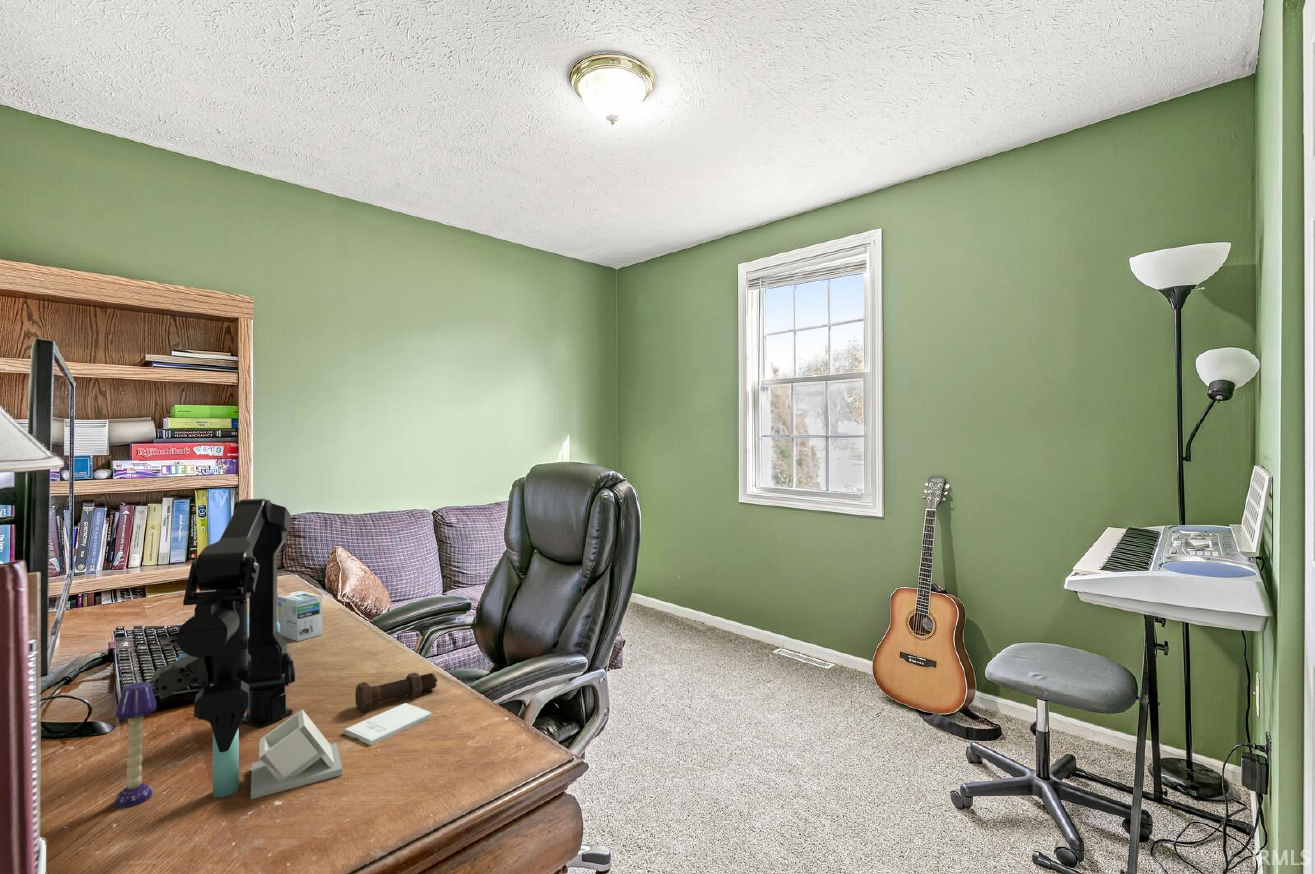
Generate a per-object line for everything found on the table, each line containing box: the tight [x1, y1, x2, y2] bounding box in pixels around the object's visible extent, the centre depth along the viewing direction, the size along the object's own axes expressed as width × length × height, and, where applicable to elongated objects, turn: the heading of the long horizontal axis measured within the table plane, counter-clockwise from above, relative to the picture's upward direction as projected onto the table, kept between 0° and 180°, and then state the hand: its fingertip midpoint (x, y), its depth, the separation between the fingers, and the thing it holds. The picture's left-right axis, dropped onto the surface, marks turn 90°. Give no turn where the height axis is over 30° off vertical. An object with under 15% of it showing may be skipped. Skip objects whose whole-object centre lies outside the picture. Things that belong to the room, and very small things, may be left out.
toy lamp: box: [113, 681, 158, 808], centre depth 91 cm, size 5×5×17 cm
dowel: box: [212, 727, 240, 798], centre depth 93 cm, size 3×3×9 cm
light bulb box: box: [277, 590, 323, 642], centre depth 165 cm, size 11×7×11 cm, turn 58°
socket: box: [250, 708, 343, 800], centre depth 98 cm, size 12×10×8 cm
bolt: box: [354, 672, 438, 714], centre depth 125 cm, size 6×5×15 cm
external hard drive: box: [343, 702, 433, 746], centre depth 114 cm, size 2×8×12 cm
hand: (225, 737), depth 93 cm, fingers open, 9 cm apart
